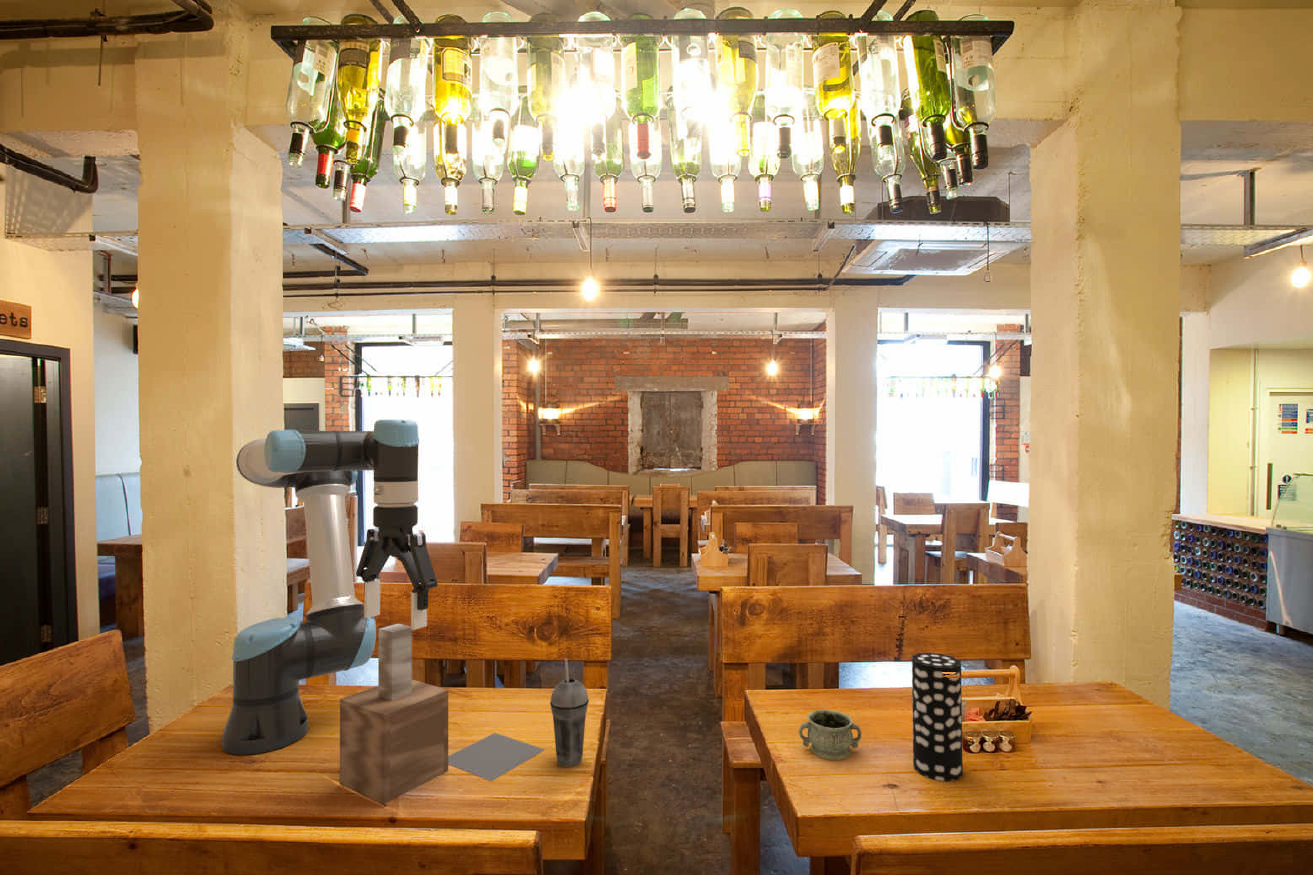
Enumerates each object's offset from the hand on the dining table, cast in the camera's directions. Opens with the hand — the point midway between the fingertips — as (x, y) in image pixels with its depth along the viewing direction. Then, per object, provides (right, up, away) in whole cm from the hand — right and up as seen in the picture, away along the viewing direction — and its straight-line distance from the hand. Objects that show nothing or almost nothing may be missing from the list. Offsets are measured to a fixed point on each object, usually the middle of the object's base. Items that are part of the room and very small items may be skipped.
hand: (394, 621), depth 116 cm
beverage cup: (+31, -28, +5) cm, 42 cm away
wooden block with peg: (0, -28, -1) cm, 28 cm away
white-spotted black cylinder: (+99, -28, +1) cm, 103 cm away
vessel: (+82, -28, +9) cm, 87 cm away
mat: (+16, -28, +7) cm, 33 cm away
